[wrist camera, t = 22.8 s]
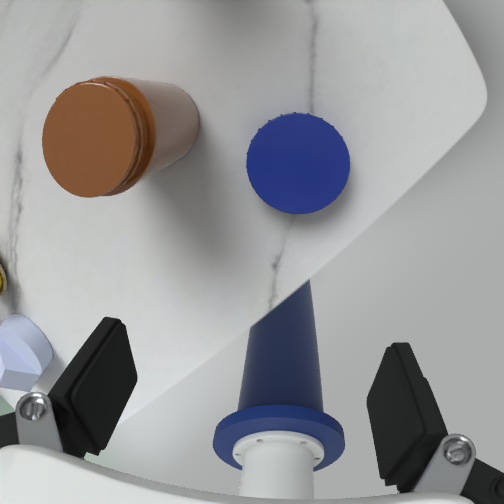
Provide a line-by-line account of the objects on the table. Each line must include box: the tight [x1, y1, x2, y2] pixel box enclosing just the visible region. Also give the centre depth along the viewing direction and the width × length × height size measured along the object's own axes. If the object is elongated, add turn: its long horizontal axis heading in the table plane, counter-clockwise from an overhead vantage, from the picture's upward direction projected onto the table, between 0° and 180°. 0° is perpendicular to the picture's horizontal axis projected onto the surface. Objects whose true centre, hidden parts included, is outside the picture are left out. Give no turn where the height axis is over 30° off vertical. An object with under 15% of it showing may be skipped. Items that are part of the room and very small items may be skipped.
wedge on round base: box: [0, 314, 53, 392], centre depth 34 cm, size 9×7×13 cm
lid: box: [246, 112, 350, 214], centre depth 23 cm, size 8×8×2 cm
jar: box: [42, 76, 199, 198], centre depth 18 cm, size 7×7×11 cm
